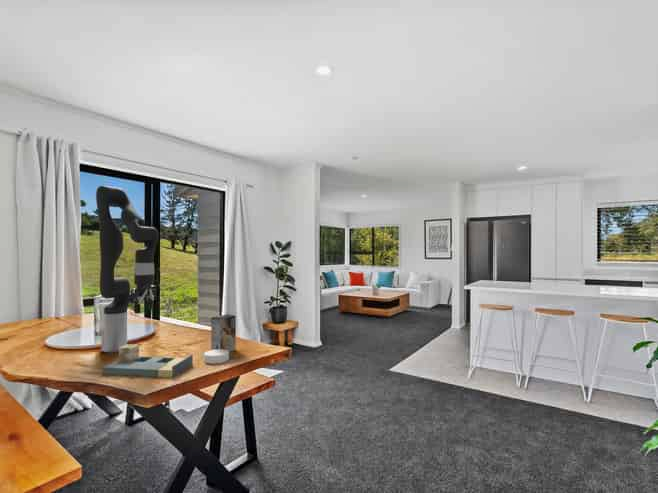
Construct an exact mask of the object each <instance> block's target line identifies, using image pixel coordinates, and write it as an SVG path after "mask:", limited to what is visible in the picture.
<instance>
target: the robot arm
mask: <svg viewBox="0 0 658 493" xmlns="http://www.w3.org/2000/svg"><path fill="white" fill-rule="evenodd" d="M95 200H96V208H97V217H98V223H99V224H98V227H99V228H98V229H99V250H100V251H99V252H100V270H99V271H100V272H99V293H100V296H101V297H102V298H103V299H107V300H108V299H113V301H111V302H110V303H109V304H108V305H105V306H104V309H103V329H101V352H104V353H117V352H118V353H119V348H120V347H122V346H125V345H127V344H128V309H129V306H130V304H133V311H134V314H140V313H141V303H142V301H143V300H144V299H145V298H146V310H151V311H152V310H153V308H154V300H155V299H157V285H154V283H155V263H154V262H155V251H156V247H157V245H158V242H159V237H160V235H159V231H158V229H157V228H156V227H154V226H152V227H151V226H146V223H145V221H144V219H143V218H142V217H141V216H140V215H139V213H138V212H137V211H136V209H135V208H134V206H133V203H132V202H131V200H130V199H129V196H128V195H127V193H126V191H125V190H124V189H122V188H120V187H115V186H109V185H108V186H107V185H99V186H98V187H97V189H96V192H95ZM110 208H119V209H121V212H120V219H121V221H122V223H123V224H124V226H125V227H126V228H127V229H128V233H129V235H130V239H131V240H132V241H133V242H134V243H136V244H145V245H144V247H143V248H137V249H136V250H135V253H134V254H135V256H134V257H135V260H134V262H135V263H134V271H133V273H134V274H133V277H134V278H133V279H134V280H133V284H134V285H135V286H136V288H131V284H130V280H129V279H128V278H126V277H124V276H122V277H121V276H120V277H119V276H118V277H115V268H116V264H117V262H118V261H119V259H120V257H121V255H122V253H123V251H124V235H123V233H122V231H121V230H122V229H120V228H119V226H118V225H117V224H116V222H115V220H114V219H113V217H112V215H111V210H110Z"/></svg>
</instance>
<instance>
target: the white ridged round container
mask: <svg viewBox="0 0 658 493" xmlns="http://www.w3.org/2000/svg"><path fill="white" fill-rule="evenodd" d="M229 359H230V352H229V351H227V350H225V349H214V350H210V349H209V350H207V351H205V352H204V354H203V362H204V363H207V364H211V365H212V364H213V365H214V364H215V365H216V364H217V365H218V364H222V363H226V362H228V361H229Z"/></svg>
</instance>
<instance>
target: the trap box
mask: <svg viewBox="0 0 658 493" xmlns="http://www.w3.org/2000/svg"><path fill="white" fill-rule="evenodd" d="M193 357H194V356H193V354H190V355H188V356H187V357H169V356H167V357H164V356H163V357H162V356H144V355H143V356H140V355H139V357H138V358H136V359H134V360H132V361H119V359H118V360H115V361H113V362H112V363H109V364H107V365H104V366H103V367H102V371H101V372H102V375H112V374H117V375H116V376H133V375H139V376H138V377H154V376H156V378H175V377H177V376H178V375H179V374H181V373H182V372H184V371H185V370H186V369H188V368H190V367H191V366H193V365H194V364H193V363H194V362H193Z"/></svg>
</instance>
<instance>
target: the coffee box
mask: <svg viewBox="0 0 658 493" xmlns="http://www.w3.org/2000/svg"><path fill="white" fill-rule="evenodd" d="M236 317H237V315H234V314H222V315H216V316H211V317H210V318H211V319H210V320H211V321H210V322H211V323H210V326H211V328H210V330H211V331H210V332H211V336H210V339H211V342H210V344H211V345H210V348H211V350H214V349H225V350H227V351H229V353H230V352H234V351H236V349H237V348H236V347H237V346H236V345H237V344H236V343H237V341H236V333H237V332H236V328H237V327H236V326H237V324H236V323H237V322H236V321H237V320H236Z"/></svg>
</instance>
